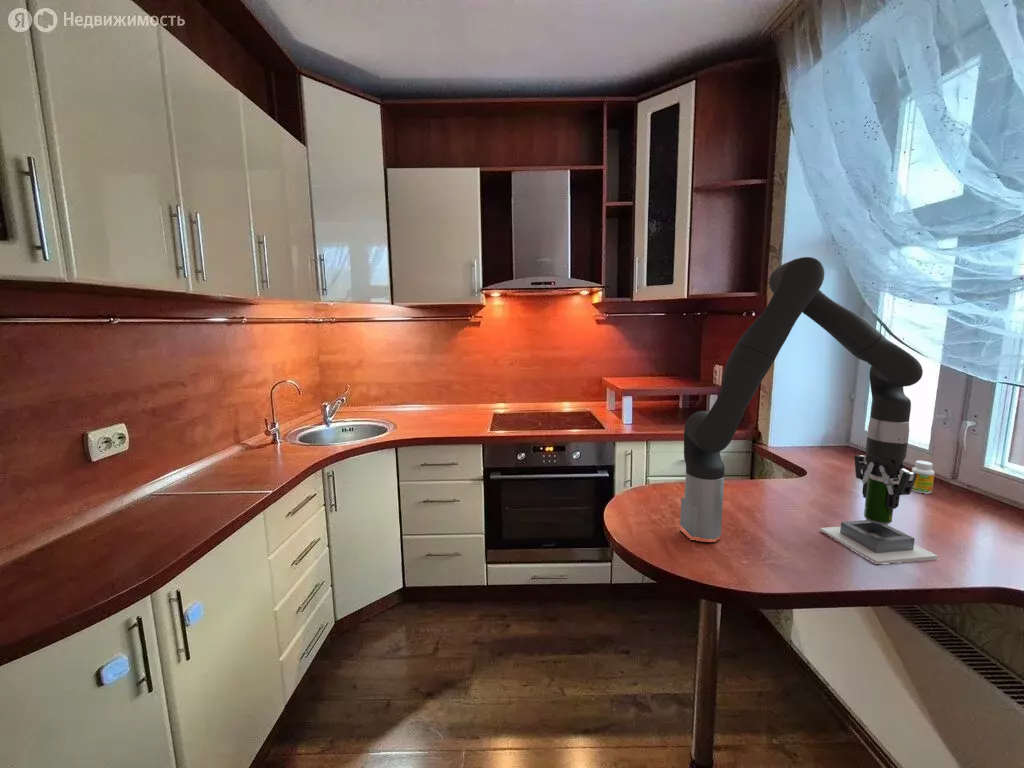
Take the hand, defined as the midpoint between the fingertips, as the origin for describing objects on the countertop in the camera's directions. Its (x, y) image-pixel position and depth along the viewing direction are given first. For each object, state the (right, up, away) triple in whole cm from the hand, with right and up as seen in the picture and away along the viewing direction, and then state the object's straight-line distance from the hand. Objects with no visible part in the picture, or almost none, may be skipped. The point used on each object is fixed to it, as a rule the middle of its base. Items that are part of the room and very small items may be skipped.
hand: (879, 502), depth 107 cm
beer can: (0, -5, +1) cm, 5 cm away
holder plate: (0, -11, +2) cm, 11 cm away
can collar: (0, -11, +2) cm, 11 cm away
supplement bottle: (+42, -6, +33) cm, 54 cm away
